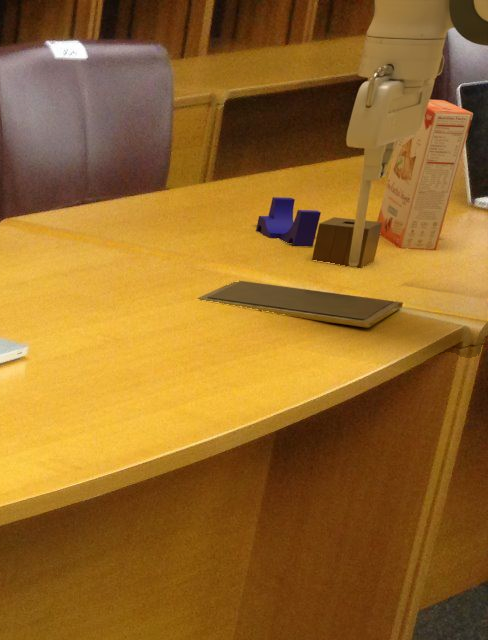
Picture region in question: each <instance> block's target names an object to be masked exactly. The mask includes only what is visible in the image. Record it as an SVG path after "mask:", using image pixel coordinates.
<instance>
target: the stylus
mask: <svg viewBox="0 0 488 640" xmlns="http://www.w3.org/2000/svg"><path fill="white" fill-rule="evenodd" d="M364 166H365V165H364V164H363V165H362V173H361V180H360V184H359V185H360V186H359V193H358V198H357V205H356V212H355V218H354V219H355V224H354V231H353V237H352V244H351V250H350V257H349V266H351V267H350V268H353V267H356V266H357V265H358V264H359V258H360V252H361V245H362V239H363V233H364V226H365V221H367V220H366V219H367V212H368V207H369V200H370V194H371V187H372V181H368V180H364V179H363V178H362V176H363V171H364Z"/></svg>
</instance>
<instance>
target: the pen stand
mask: <svg viewBox="0 0 488 640" xmlns="http://www.w3.org/2000/svg"><path fill="white" fill-rule="evenodd" d="M354 224H355V218H345V217H335V216H334V217H332V218H329V219H327V220H324V221H321V222H320V223H318V227H317V232H316V236H315V241H314V246H313V247H314V248H313V253H312V257H311V261H312V260H317V261H323V262H330V263H335V264H340V265H339V266H341V265H345V266H344V267H347V266H349V257H350V250H351V244H352V237H353V231H354ZM381 228H382V222H377V221H372V220H365V226H364V233H363V239H362V245H361V252H360V258H359V264H358V265H357V266H356V267H357V268H356V269H359V268H361V269H363V268H364V267H366V266H368V265H370V264H371V262H372V263H373V261H374V262H375V259H376V254H377V249H378V245H379V241H380V237H381V234H380V232H381ZM369 263H370V264H369ZM335 264H334V265H335ZM367 264H368V265H367ZM363 266H364V267H363Z"/></svg>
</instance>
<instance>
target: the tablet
mask: <svg viewBox="0 0 488 640" xmlns="http://www.w3.org/2000/svg"><path fill="white" fill-rule="evenodd" d="M232 282H233V283H232ZM232 282H230V283H231V284H230V283H228V284H229V285H227V284H226V285H223V286H221V287H219V288H217V289H215V290H212V291H210V292H208V293H206V294H203V295H201V296H199V297H197V299H200V300H199V301H202V300H206V301H205V302H207V301H213V302H219V303H224V304H229V305H235V306H242V307H247V308H252V309H258V310H263V311H269V312H274V313H279V314H285V315H290V316H289V317H291V316H294V317H293V318H297V317H300V318H299V319H305V320H311V321H318V322H319V321H320V322H326V323H332V324H339V325H347V326H353V327H360V328H366V329H367V328H368V329H369V328H371V327H373V326H374V325H375V324H377V323H379V322H381V321H382V320H384V319H385V318H387V317H389V316H390V315H392V314H393V313H395V312H396V311H398V310H400V309H401V308H402V307H403V302H402V301H395V300H388V299H380V298H373V297H365V296H357V295H351V294H345V293H336V292H335V293H334V292H328V291H320V290H312V289H307V288H298V287H290V286H284V285H278V284H277V285H276V284H268V283H262V282H254V281H245V280H239V282H234V281H232ZM213 302H212V303H213ZM224 304H223V305H224ZM229 305H228V306H229ZM235 306H234V307H235ZM279 314H278V315H279ZM285 315H284V316H285Z"/></svg>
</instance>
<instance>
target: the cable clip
mask: <svg viewBox="0 0 488 640" xmlns="http://www.w3.org/2000/svg"><path fill="white" fill-rule="evenodd" d="M295 201H296V200H295V198H293V197H279V196H278V197H276V196H273V197H272V199H271V203H270V207H269V213H268V215H258V219H257V223H256V227H255V231H256V232H260V234H261V235H263V236H265V237H266V238H268V239H277V238H279V240H281V241H282V240H283V241H282V242H284V241H285V242H284V243H286V242H287V243H286V244H288V243H292V244H291V246H292V245H293V246H313V247H314V244H315V240H316V236H317V232H318V228H319V222H320V218H321V213H322V212H321V211H319V210H315V209H314V210H313V209H311V210H310V209H309V210H308V209H297V211H296V214H295V218H294V207H295ZM293 246H292V247H293Z"/></svg>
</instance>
